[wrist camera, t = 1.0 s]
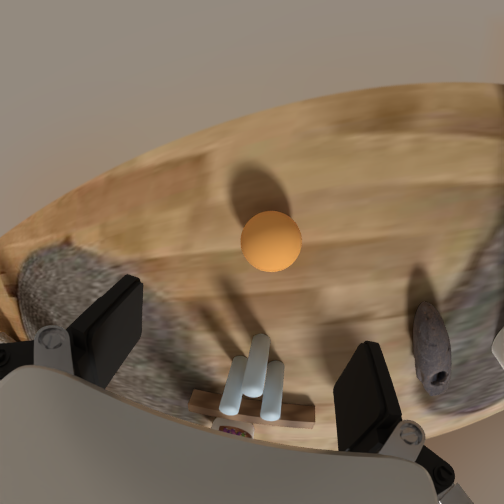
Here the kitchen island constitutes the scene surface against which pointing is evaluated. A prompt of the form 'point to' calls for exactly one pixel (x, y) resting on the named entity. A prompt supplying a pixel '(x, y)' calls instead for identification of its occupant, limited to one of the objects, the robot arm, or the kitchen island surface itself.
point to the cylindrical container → (499, 347)
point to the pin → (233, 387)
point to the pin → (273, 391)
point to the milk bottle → (234, 427)
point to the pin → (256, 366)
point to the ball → (271, 241)
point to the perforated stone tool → (431, 349)
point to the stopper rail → (252, 411)
